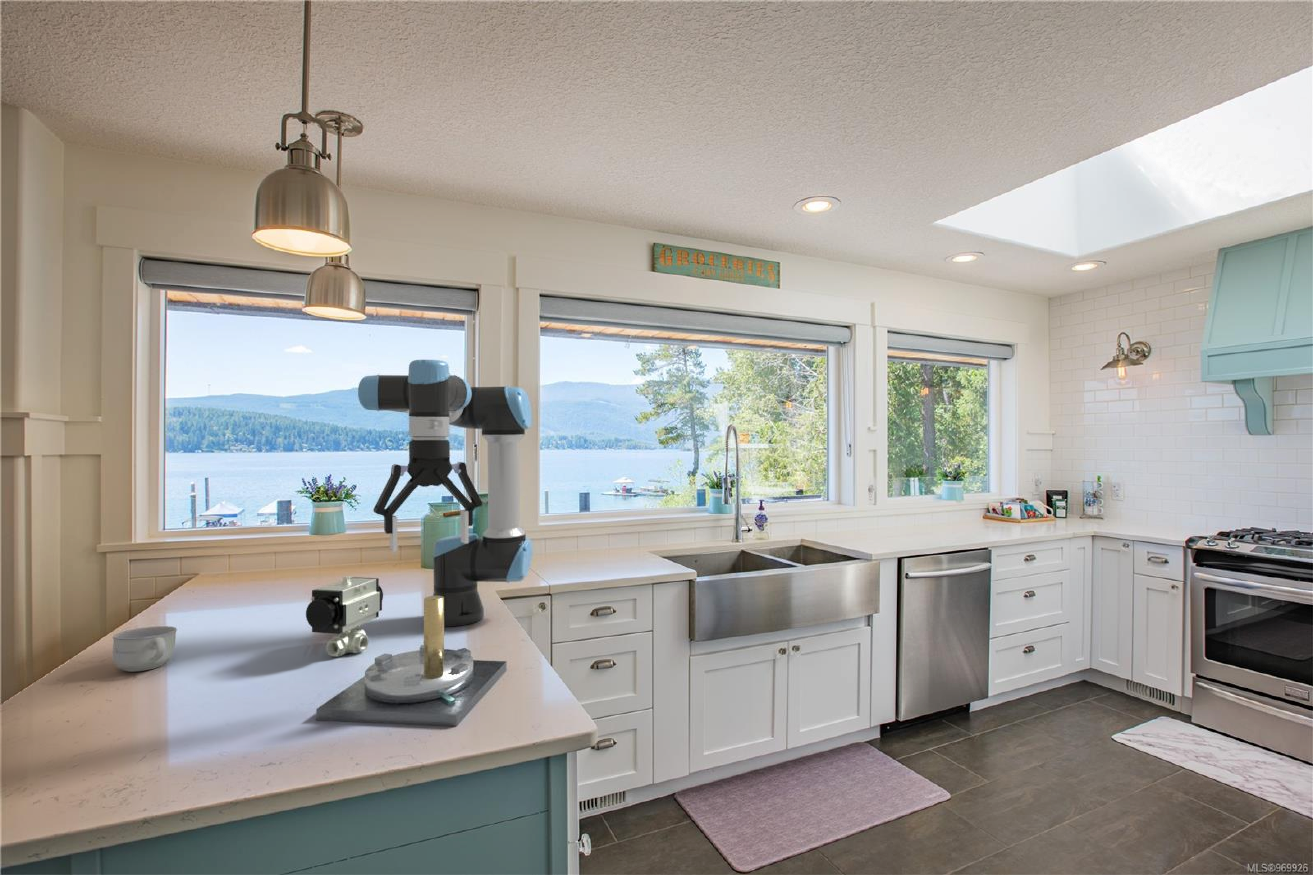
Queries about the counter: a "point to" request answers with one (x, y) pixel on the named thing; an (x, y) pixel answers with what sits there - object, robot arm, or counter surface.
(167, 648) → the teacup
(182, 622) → the counter surface
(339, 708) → the base plate
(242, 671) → the counter surface
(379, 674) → the silver tabbed disc
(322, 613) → the ball valve
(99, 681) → the counter surface
